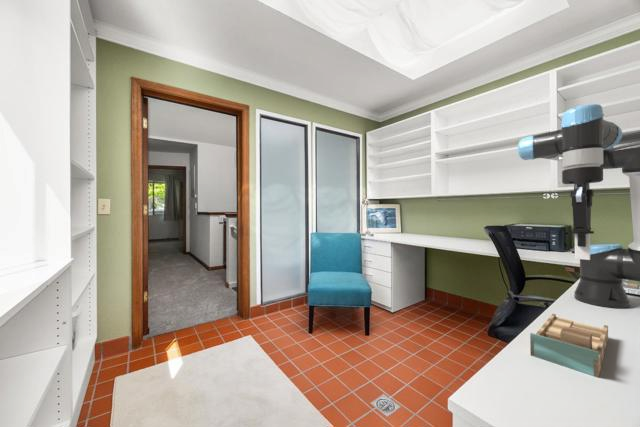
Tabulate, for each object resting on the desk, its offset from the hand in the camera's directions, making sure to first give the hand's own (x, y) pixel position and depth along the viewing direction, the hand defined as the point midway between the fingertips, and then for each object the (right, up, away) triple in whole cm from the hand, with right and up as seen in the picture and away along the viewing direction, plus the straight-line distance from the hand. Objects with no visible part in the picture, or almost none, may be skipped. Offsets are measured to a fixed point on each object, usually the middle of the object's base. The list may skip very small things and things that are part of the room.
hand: (582, 258), depth 68 cm
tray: (0, -24, +3) cm, 25 cm away
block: (-5, -22, -4) cm, 23 cm away
